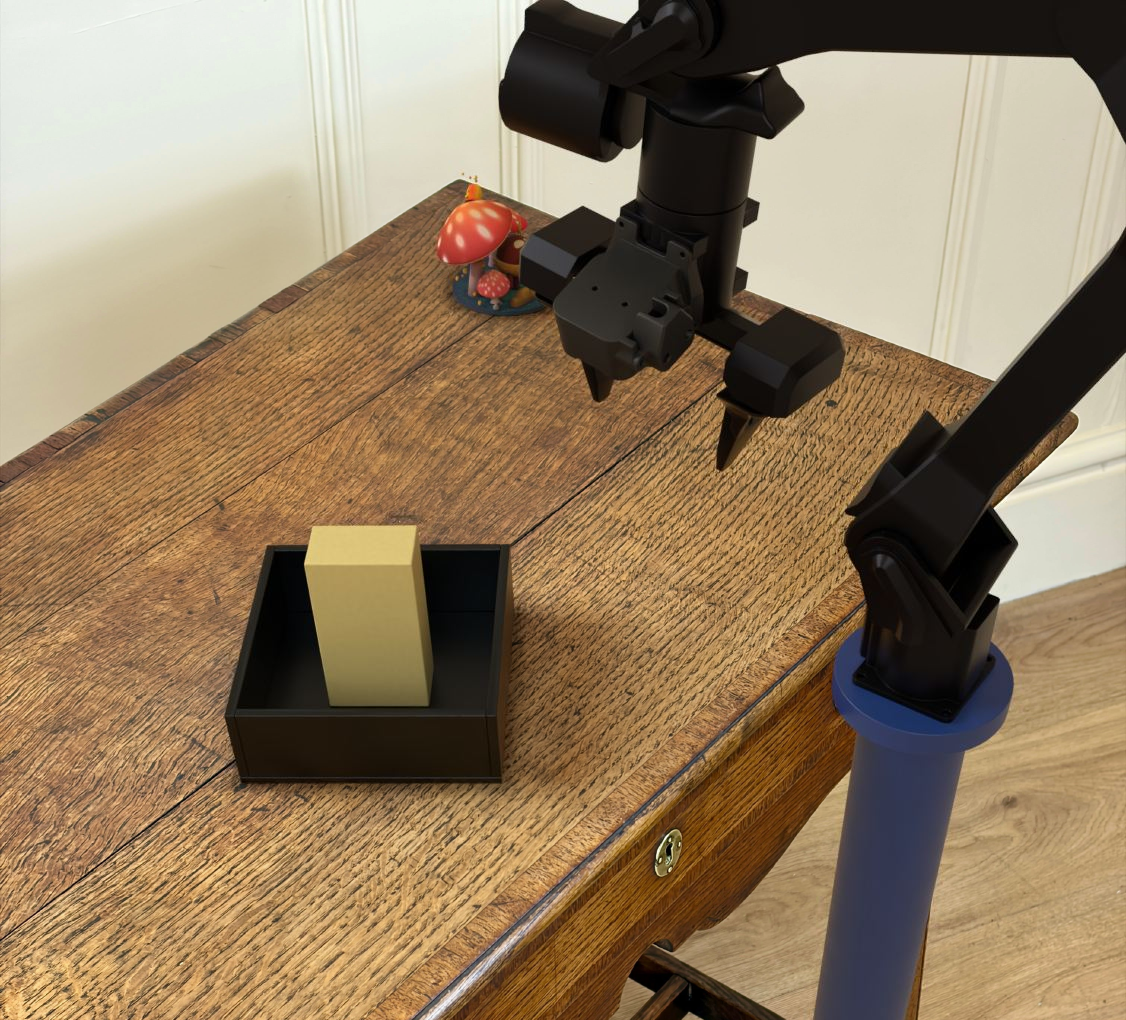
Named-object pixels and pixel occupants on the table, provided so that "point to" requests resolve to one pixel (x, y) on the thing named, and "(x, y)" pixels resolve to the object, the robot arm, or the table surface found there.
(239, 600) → the table surface
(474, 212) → the figurine
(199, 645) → the table surface
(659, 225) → the robot arm
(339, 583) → the block
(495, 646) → the bin
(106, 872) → the table surface
